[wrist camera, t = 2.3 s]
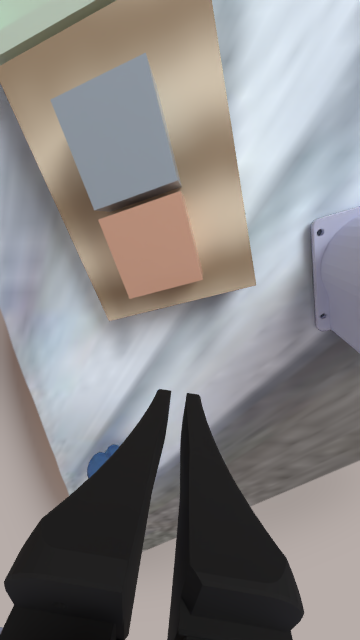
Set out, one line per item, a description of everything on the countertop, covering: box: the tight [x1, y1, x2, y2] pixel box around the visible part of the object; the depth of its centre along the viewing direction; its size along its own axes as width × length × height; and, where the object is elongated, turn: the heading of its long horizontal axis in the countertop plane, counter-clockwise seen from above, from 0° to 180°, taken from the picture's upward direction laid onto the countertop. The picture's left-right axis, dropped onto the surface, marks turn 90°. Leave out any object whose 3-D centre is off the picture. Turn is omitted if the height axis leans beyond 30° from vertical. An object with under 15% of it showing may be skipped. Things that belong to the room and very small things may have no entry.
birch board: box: [0, 0, 256, 321], centre depth 15 cm, size 16×12×3 cm
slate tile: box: [51, 53, 182, 212], centre depth 12 cm, size 5×5×2 cm
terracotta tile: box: [98, 191, 203, 299], centre depth 14 cm, size 5×5×2 cm
